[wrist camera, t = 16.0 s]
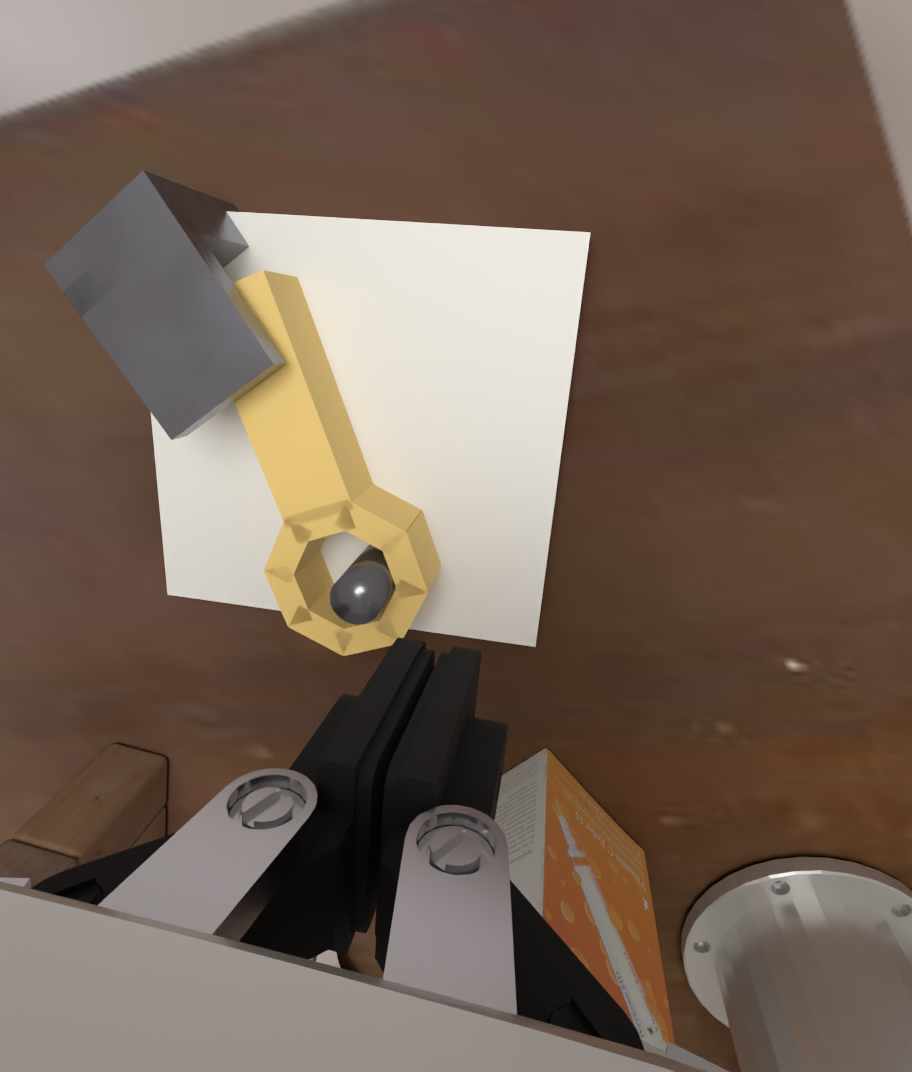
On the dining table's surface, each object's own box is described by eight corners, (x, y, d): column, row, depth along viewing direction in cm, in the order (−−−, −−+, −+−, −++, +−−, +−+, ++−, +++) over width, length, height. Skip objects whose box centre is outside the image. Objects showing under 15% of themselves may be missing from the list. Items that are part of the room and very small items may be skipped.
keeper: (149, 278, 26) (43, 265, 21) (233, 205, 25) (143, 170, 19) (247, 418, 28) (171, 440, 22) (332, 356, 26) (273, 363, 21)
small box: (646, 848, 32) (702, 1172, 20) (551, 898, 34) (547, 1219, 22) (547, 741, 31) (540, 1014, 18) (454, 799, 33) (393, 1079, 20)
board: (588, 237, 23) (590, 232, 22) (536, 634, 29) (535, 646, 28) (150, 211, 25) (131, 205, 24) (181, 584, 31) (167, 594, 30)
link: (454, 602, 28) (442, 633, 25) (328, 632, 29) (304, 664, 26) (336, 261, 24) (306, 252, 21) (197, 316, 25) (153, 314, 22)
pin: (417, 529, 28) (382, 579, 22) (414, 569, 29) (380, 628, 23) (375, 524, 28) (330, 572, 23) (373, 564, 29) (329, 620, 23)
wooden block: (170, 754, 35) (-192, 1154, 18) (167, 890, 38) (-136, 1327, 22) (111, 738, 35) (-300, 1116, 18) (113, 874, 39) (-227, 1293, 22)
